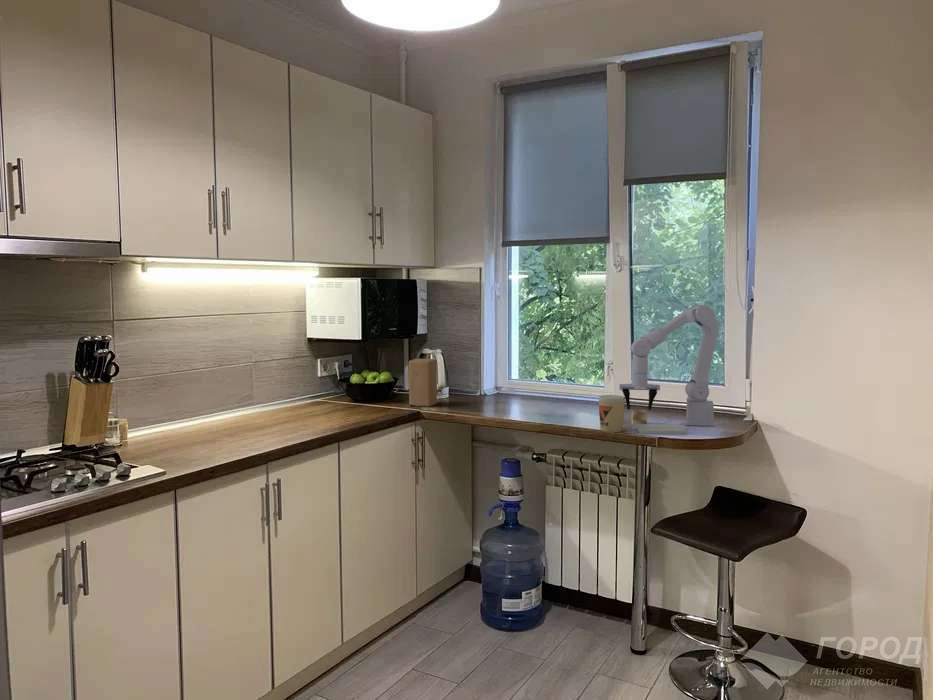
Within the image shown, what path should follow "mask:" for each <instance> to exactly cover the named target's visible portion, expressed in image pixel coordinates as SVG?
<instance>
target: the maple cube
mask: <svg viewBox="0 0 933 700" xmlns="http://www.w3.org/2000/svg"><path fill="white" fill-rule="evenodd" d="M630 423H631V425H632V424H633V425H635V424H648V412H647V410H645V409H631V422H630ZM633 425H632V426H633Z"/></svg>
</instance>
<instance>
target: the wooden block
mask: <svg viewBox="0 0 933 700" xmlns="http://www.w3.org/2000/svg"><path fill="white" fill-rule="evenodd" d="M437 363H438V361H437V359H436V358H415V359H411V360H409V361H408V395H409V396H408V401H409V402H408V403H409V406H410V405H415V406H414V407H418V406H428V407H427V408H430V407H432V406H434V405H436V404H438V366H437V365H438V364H437ZM429 406H430V407H429Z"/></svg>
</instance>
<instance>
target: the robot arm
mask: <svg viewBox="0 0 933 700" xmlns="http://www.w3.org/2000/svg"><path fill="white" fill-rule="evenodd" d="M689 323H696V324H697V325H698V326H699V327H700V329H701V331H702V332H703V333H702V335H701V341H700V344H699V349H698V353H697V357H696V360H695V366H694V369H693V372H692V374H691V375H690V378H689V381H688V382H687V384H686V385H685V389H684V390H685V393H686V395H687V397H686V415H685V416H686V418H685V420H683V423H684V424H685V425H686V426H691V427H692V426H698V427H699V426H700V427H701V426H702V427H705V426H706V427H707V426H708V427H714V426H715V425H714V414H715V413H714V411H715V410H714V408H715V406H714V405H715V404H714V401H713V400H708V397H709V396H710V389H709V384H710V379H709V372H710V368H711V365H712V360H713V357H714V352H715V348H716V343H717V339H718V336H719V331H720V327H719V325H718V321H717V318H716V312H715V311H714V310H713V308H711V306H709V305H708V304H707V305H706V304H698V303H697V304H693V305H692V306H691V307H689V308H686V309H685V310H683V311H682V312H681V313H679V314H678V315H677V316H676V317H674V318H673V319H671V320H670V321H669V322H668V323H666V324H665V325H663V326H662V327H658V326H657V327H652V328H651V329H650V331H649V332H648V333H646V334H645V335H641V336H640V337H639V339H637V340H634V341H633V342H632V343H631V346H630V347H629V348H630V351H631V354H632V356H631V357H632V358H631V359H632V360H631V383H619V385H618V387H619V390H620V391H622V393H623V396H624V398H625V404H626V409H627V410H628V411H629V410H631V409H630V408H631V407H630V405H631V402H630V398H631V397H630V396H631V390H632V391H648V406H647V407H648V408H647V409H648V410H649V411H651V410H652V406H653V403H654V401H655V398H656V396H657V395H658V391H661V385H660V384H651V383H648V377H649V374H648V373H649V371H648V370H649V359H648V358H649V357H648V355H649V354H650V353H651V350H654V349H655V348H656V347H658V346H659V345H660V344H662V343H664V342H665V341H666V340H667V337H668V335H669V334H671V333H672V332H674V331H676V330H677V329H679V328H680V327H682V326H683V325H685V324H689Z"/></svg>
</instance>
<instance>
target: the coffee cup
mask: <svg viewBox="0 0 933 700" xmlns="http://www.w3.org/2000/svg"><path fill="white" fill-rule="evenodd" d="M598 397H599V398H597V399H598V411H599V428H600V431H601V430H602V432H605V433H620V431H621V432H622V431H623V428H624V427H623V426H624V415H625V406H626V399H625V396H624V395H620V394H619V395H617V394H603V395H599V396H598Z"/></svg>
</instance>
